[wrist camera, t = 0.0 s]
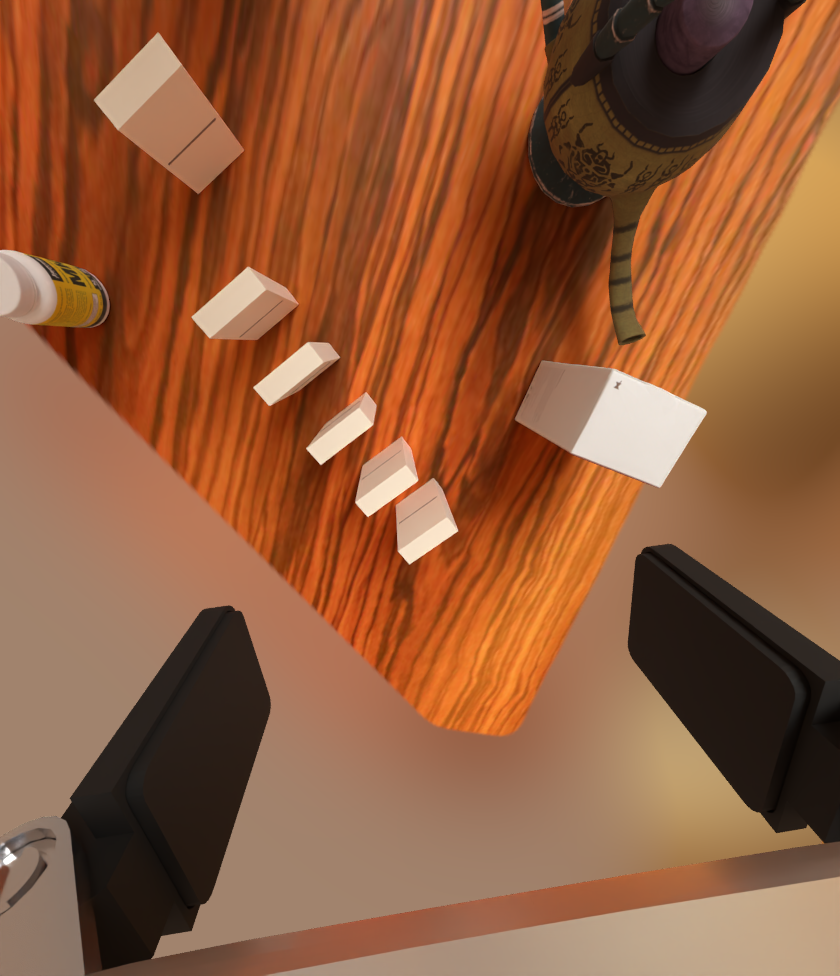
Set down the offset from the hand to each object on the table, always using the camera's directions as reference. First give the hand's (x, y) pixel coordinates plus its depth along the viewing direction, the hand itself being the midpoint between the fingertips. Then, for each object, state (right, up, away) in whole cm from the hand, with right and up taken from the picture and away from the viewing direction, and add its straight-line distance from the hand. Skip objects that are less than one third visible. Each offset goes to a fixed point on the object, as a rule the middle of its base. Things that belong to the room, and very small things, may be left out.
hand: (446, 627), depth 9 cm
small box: (+14, +12, +30) cm, 35 cm away
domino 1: (-17, +29, +22) cm, 40 cm away
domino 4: (-7, +10, +29) cm, 32 cm away
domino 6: (-1, +2, +32) cm, 32 cm away
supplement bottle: (-29, +19, +24) cm, 43 cm away
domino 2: (-14, +19, +25) cm, 34 cm away
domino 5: (-4, +6, +31) cm, 32 cm away
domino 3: (-10, +15, +27) cm, 33 cm away
